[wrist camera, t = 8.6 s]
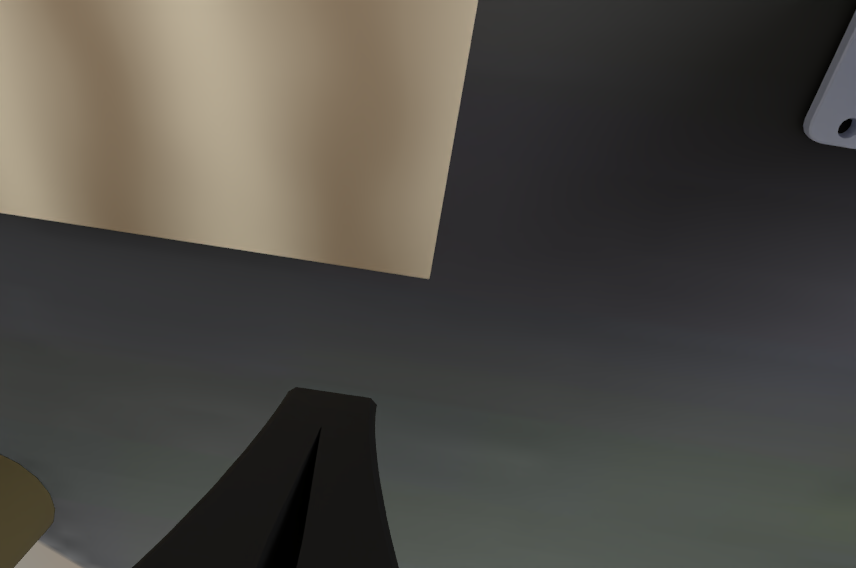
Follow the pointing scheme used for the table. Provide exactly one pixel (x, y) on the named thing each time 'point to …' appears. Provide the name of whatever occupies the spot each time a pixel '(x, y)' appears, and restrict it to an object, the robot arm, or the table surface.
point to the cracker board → (237, 121)
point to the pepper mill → (21, 512)
